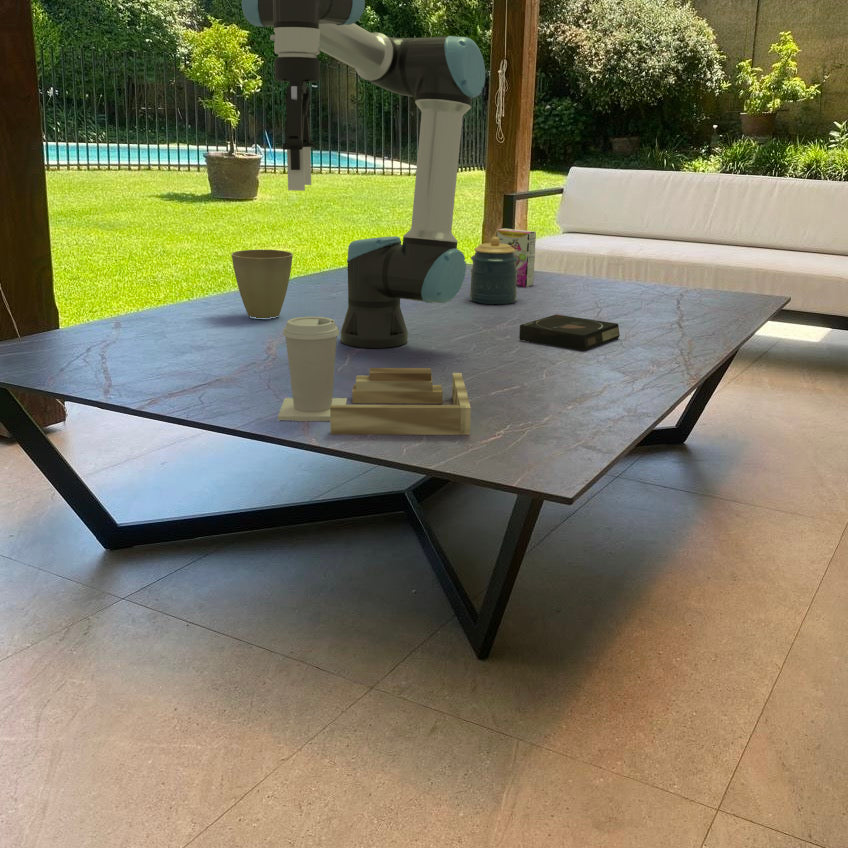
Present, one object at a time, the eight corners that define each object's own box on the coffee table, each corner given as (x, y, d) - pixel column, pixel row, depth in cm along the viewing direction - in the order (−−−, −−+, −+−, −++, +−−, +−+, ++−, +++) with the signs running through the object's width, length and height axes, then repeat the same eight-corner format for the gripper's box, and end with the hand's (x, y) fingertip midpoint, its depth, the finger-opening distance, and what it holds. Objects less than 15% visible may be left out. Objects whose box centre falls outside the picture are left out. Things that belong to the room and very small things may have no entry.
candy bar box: (493, 284, 297) (495, 229, 292) (501, 281, 301) (503, 228, 296) (526, 287, 291) (529, 232, 286) (534, 285, 295) (536, 230, 290)
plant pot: (229, 323, 237) (227, 257, 232) (238, 311, 251) (236, 249, 246) (291, 323, 237) (289, 257, 232) (296, 311, 251) (295, 249, 247)
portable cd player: (585, 353, 214) (586, 335, 212) (519, 342, 223) (519, 325, 222) (619, 341, 226) (620, 324, 225) (555, 330, 236) (556, 314, 235)
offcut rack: (338, 396, 177) (337, 372, 176) (460, 396, 178) (461, 373, 176) (330, 434, 156) (330, 407, 155) (470, 434, 157) (470, 408, 155)
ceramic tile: (285, 402, 173) (284, 397, 173) (346, 402, 173) (346, 398, 173) (278, 420, 163) (277, 416, 162) (344, 421, 163) (343, 416, 163)
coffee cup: (325, 417, 162) (323, 329, 157) (274, 411, 165) (271, 324, 161) (349, 402, 170) (349, 318, 166) (301, 396, 174) (299, 313, 169)
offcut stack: (353, 396, 177) (353, 367, 176) (441, 396, 178) (441, 367, 176) (352, 403, 173) (352, 373, 171) (442, 403, 173) (442, 374, 172)
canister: (503, 307, 261) (505, 240, 256) (461, 301, 268) (462, 237, 262) (524, 299, 272) (527, 236, 266) (483, 295, 278) (485, 232, 273)
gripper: (282, 60, 174) (285, 182, 180) (265, 51, 150) (269, 192, 157) (324, 60, 174) (326, 182, 181) (313, 52, 150) (316, 193, 157)
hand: (300, 187), depth 169 cm, fingers open, 13 cm apart
